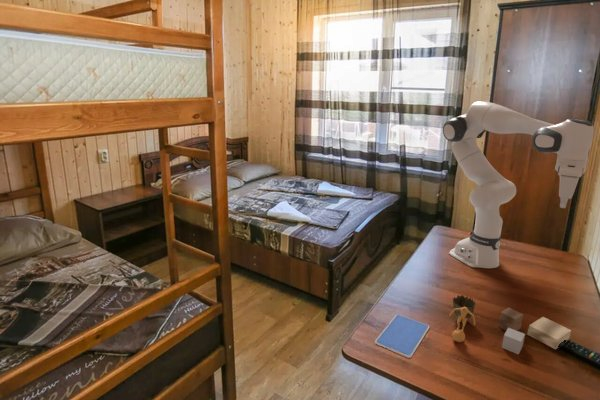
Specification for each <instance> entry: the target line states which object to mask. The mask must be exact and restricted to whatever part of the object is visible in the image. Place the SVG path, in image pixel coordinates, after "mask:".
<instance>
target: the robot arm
mask: <svg viewBox="0 0 600 400" xmlns="http://www.w3.org/2000/svg"><path fill="white" fill-rule="evenodd" d="M442 126H443V127H442V134H443V137H444V138H445V139H446V140H447V141H449V142H452V144H451V149H452V153H453V156H454V158H455V160H456V161H457V163H458V165H459V167H460V168H461V170H462V171H463V173H464V175H465V176H466V178H467V179H468V180H470V181H472V182H474V183H475V184H477V186H476V187H475V188H473V189H472V190H471V192H470V193H469V201H470V203H471V205H472V206H473V207H474V211H475V222H474V223H475V224H474V228H473V230H471V231H470V232H468V233H467V235H468V236H467V237H466V238H464V239H461V240H459V241H458V242H457V243H456V244H455V246H454V248H452V249H450V251H449V253H448V255H449V254H450V255H449V256H451V257H453V258H454V259H456V260H458V261H460V262H462V263H463V264H465V265H467V266H469V267H470V268H479V269H480V268H482V269H496V268H498V267H499V266H500V261H499V260H500V258H499V250H500V245H501V238H502V236H501V234H502V227H503V223H504V221H503V218H502V216H500V214H501V213H500V206H501V205H505V204H506V203H509V202H510V201H511V200H513V198H514V197H515V196H516V194H517V187H516V184H515V183H513V181H511V180H508V179H507V178H505V177H504V176H503V175H502V174H500V172H499V171H497V169H495V167H493V166H492V164H491V163H490V162H489V161H488V159H487V158H486V156H485V154H484V153H483V151H482V149H481V148H480V147H479V145H478V144H477V139H481V138H482V137H483V136H484V133H486V132H489V133H493V134H499V135H506V134H507V135H509V134H510V135H511V134H527V135H530V136H532V138H531V142H532V143H531V144H532V146H533V149H534V150H535V151H537V152H538V153H541V154H542V153H543V154H552V153H553V154H554V153H555V154H557V156H556V163H555V167H554V170H555V171H556V172H557V175H558V177H559V186H558V187H559V188H558V196H559V200H560V202H559V208H561V209H566V208H567V204H568V201H569V200H570V199H572V198H573V196H574V193H575V190H576V187H577V185H578V182H579V179H580V178H581V177H582V176H583V174H585V173H586V169H587V166H588V161H589V155H588V154H589V151H590V150H591V148H592V143H593V139H594V125H593V123H592V122H591V121H589V120H587V119H583V118H576V117H572V118H570V117H569V118H568V119H566V120H565V121H562V122H560V123H556V124H555V123H552V122H548V121H545V120H542V119H538V118H535V117H531V116H529V115H526V114H523V113H521V112H518V111H515V110H513V109H511V108H508V107H506V106H504V105H501V104H498V103H494V102H490V101H483V100H479V101H478V100H477V101H474V102H473V103H471V105H470V106H469V107H468V109H467V112H466V113H463V114H461V115H459V116H456V117H452V118H450V119H448V120H447V121H445V123H444V124H443V125H442Z"/></svg>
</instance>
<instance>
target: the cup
mask: <svg viewBox="0 0 600 400" xmlns="http://www.w3.org/2000/svg"><path fill="white" fill-rule="evenodd" d="M476 304H477V303H476V301H475V300H474V299H472V298H471V297H469V298H468V296H466V297H465V296H464V295H457V297H455V296H454V297H453V299H452V311H453V310H454V309H455V308H463V307H467V308H468V310H469V311H470V312H471V313H472V314H473V315H474V311H475V307H476ZM453 314H454V315H455V318H456V321H458V317H459V316H461V312H460V310H455V311H454V312H453ZM471 317H473V316H472V315H470V314H469V313H467V315H466V317H465V318H467V320H468V319H470V318H471ZM462 321H463V320H462V319H461V322H460V323H463V322H462Z"/></svg>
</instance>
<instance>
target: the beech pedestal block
mask: <svg viewBox="0 0 600 400" xmlns="http://www.w3.org/2000/svg"><path fill="white" fill-rule="evenodd" d="M571 332H572V330H571V329H569V328H567V327H565V326H564V325H561V324H559V323H557V322H555V321H553V320H552V319H551V320H550V319H549V318H546V317H544V316H541V317H540V318H539V319H537V320H535V321H534V322H532V323H530V324H529V325H528V328H527V334H526V335H528V336H530V337H531V338H533V339H535V340H537V341H538V342H541V343H543V344H545V345H546V346H547V347H550V348H552V349H553V350H557V349H558V348H559V347H558V346H559V344H560V343H561V342H563V341H564V340H568V341H569V340H570V338H571Z"/></svg>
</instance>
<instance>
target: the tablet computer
mask: <svg viewBox="0 0 600 400" xmlns="http://www.w3.org/2000/svg"><path fill="white" fill-rule="evenodd" d="M429 330H430V325H429V324H427V323H423V322H421V321H417V320H415V319H412V318H409V317H407V316H404V315H401V314H395V316H394V317H393V318H392V319H391V320H390V322H389V323H388V324H387V326H386V327H385V328H384V329H383V331H382V332H381V333H380V334H379V336H378V337H376V339H375V341H374V344H375V345H376V344H377V346H379V347H381V346H382V347H381V348H383V347H384V349H386V348H387V349H386V350H388V351H390V350H391V352H393V353H396V354H397V355H400V356H402V357H405V358H407V359H411V358H412V357H413V356H414V353H416V351H417V349H418V347H419V346H420V344H421V342H422V341H423V339H425V338H424V337H425V336H426V334H427V333H428V332H429Z"/></svg>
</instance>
